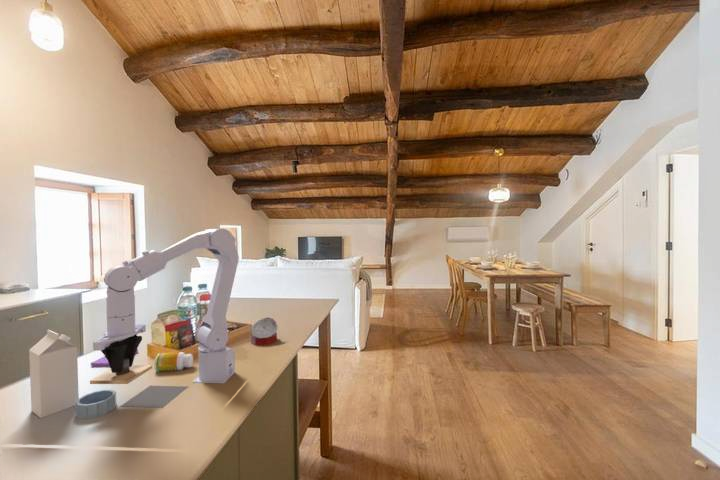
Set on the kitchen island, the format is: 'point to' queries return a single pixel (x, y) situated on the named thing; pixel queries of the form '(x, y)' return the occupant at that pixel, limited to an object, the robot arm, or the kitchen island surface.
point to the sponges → (102, 362)
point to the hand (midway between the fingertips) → (122, 369)
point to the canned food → (264, 332)
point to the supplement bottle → (172, 361)
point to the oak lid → (122, 374)
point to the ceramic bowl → (95, 404)
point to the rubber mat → (155, 396)
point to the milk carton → (53, 374)
